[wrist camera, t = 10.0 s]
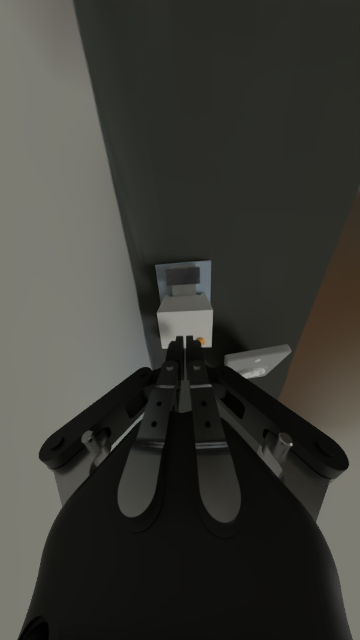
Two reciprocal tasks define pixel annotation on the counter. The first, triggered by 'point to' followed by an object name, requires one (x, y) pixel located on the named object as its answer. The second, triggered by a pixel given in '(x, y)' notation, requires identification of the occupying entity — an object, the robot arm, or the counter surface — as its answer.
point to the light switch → (256, 360)
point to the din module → (185, 319)
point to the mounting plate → (200, 288)
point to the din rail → (183, 287)
